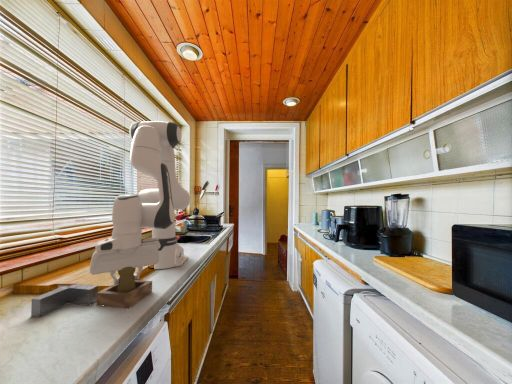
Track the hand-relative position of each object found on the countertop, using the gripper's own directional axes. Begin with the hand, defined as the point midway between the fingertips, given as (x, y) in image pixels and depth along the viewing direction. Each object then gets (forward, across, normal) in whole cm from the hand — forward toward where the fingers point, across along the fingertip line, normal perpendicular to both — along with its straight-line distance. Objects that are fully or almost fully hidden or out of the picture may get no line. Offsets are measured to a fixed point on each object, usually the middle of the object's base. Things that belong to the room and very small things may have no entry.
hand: (126, 281), depth 73 cm
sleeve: (+6, 0, 0) cm, 6 cm away
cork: (+6, 0, 0) cm, 6 cm away
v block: (+6, +16, -5) cm, 18 cm away
